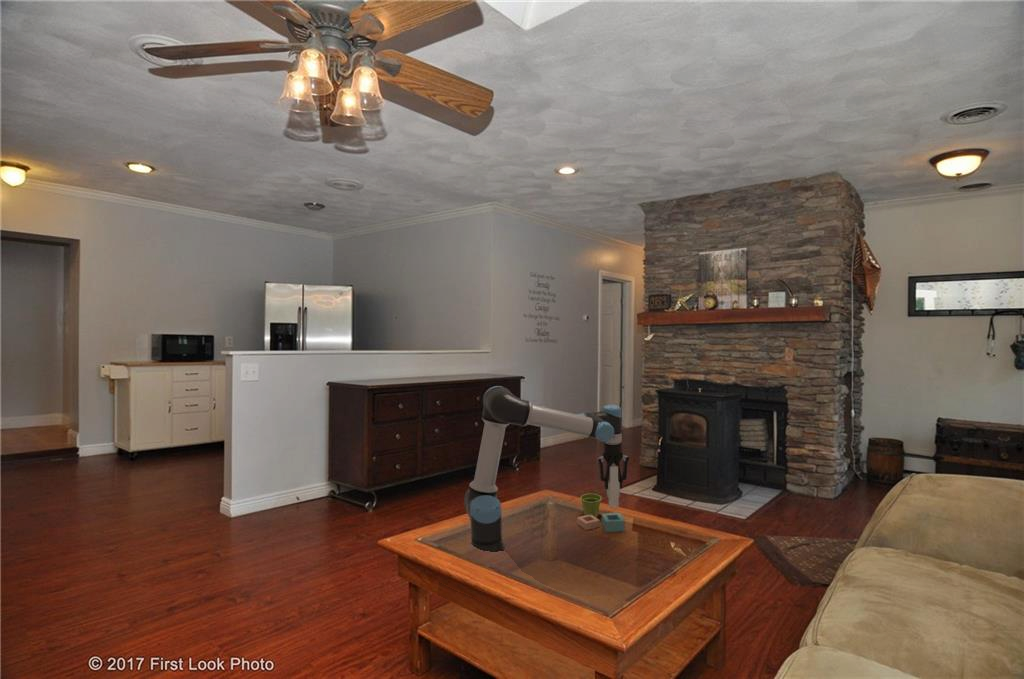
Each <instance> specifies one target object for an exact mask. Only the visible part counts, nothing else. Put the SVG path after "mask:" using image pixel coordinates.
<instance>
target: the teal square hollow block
mask: <svg viewBox="0 0 1024 679" xmlns="http://www.w3.org/2000/svg"><path fill="white" fill-rule="evenodd" d="M625 522H626V521H625V518H624V517H623V515H622V514H621V513H620V512H609V513H607V512H606V513H601V525H602V527H603V529H604V532H605V533H614V532H615V533H616V532H625V531H626V530H625V529H626V523H625Z"/></svg>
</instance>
